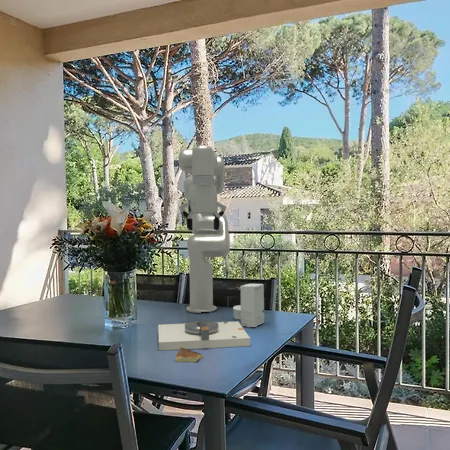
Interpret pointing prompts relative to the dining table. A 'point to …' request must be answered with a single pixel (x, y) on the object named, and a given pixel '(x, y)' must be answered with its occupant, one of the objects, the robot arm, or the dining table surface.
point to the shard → (187, 356)
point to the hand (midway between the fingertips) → (203, 230)
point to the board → (177, 337)
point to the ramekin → (237, 312)
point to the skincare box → (252, 305)
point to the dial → (201, 328)
